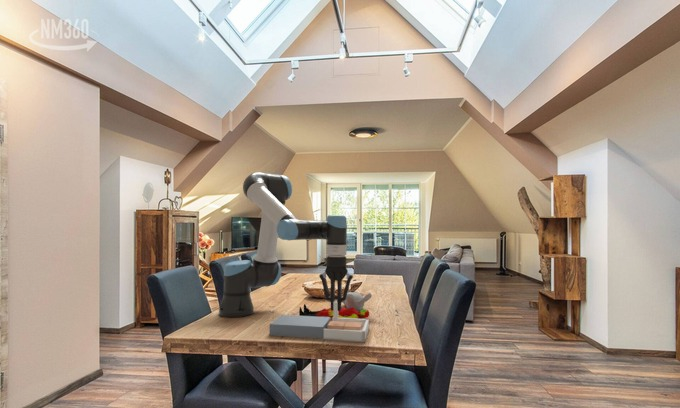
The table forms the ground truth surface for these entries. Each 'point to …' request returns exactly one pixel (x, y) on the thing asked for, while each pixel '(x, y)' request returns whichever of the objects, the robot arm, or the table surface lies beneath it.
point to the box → (348, 331)
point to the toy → (356, 300)
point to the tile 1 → (336, 325)
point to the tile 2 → (353, 326)
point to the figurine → (343, 312)
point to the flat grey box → (299, 326)
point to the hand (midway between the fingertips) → (335, 319)
